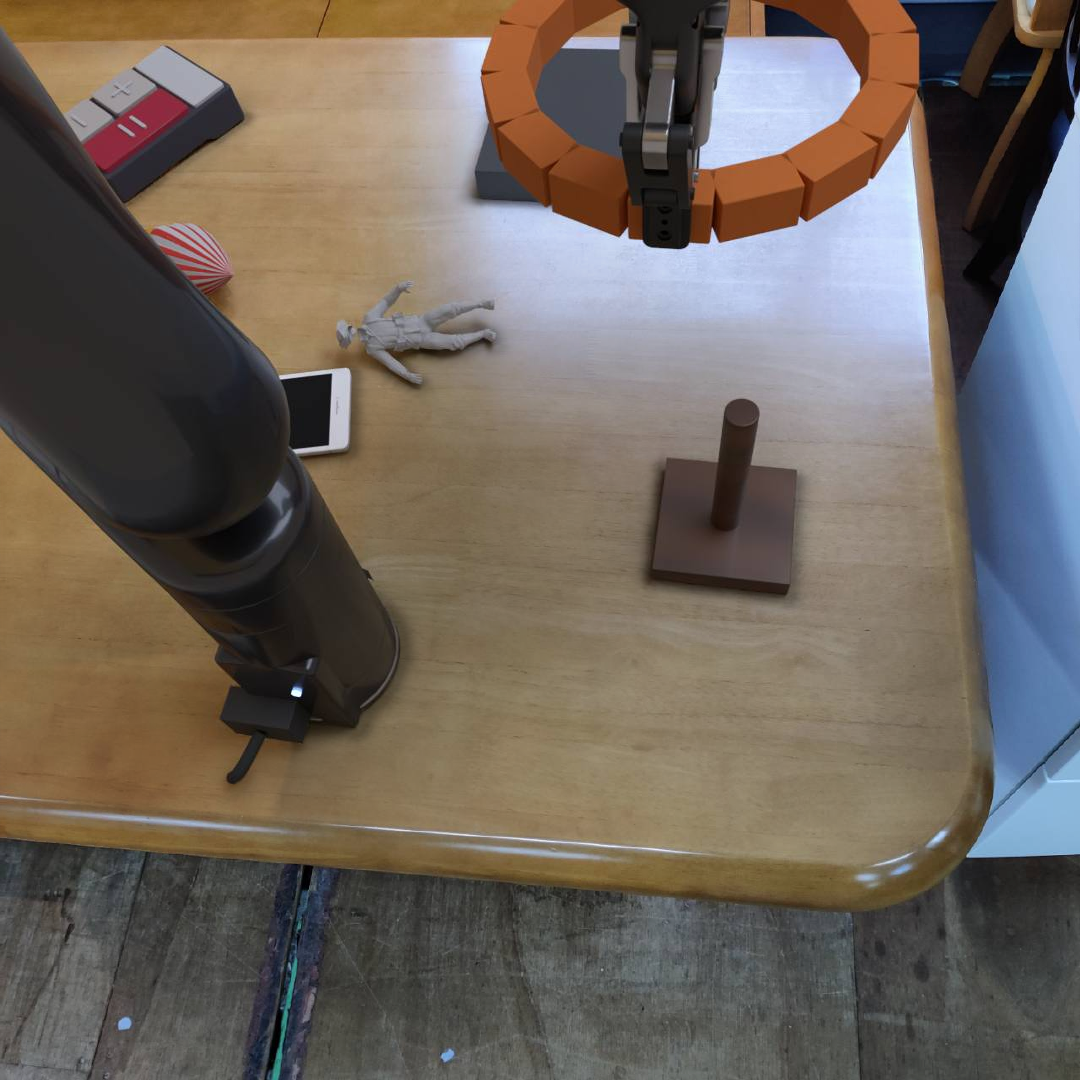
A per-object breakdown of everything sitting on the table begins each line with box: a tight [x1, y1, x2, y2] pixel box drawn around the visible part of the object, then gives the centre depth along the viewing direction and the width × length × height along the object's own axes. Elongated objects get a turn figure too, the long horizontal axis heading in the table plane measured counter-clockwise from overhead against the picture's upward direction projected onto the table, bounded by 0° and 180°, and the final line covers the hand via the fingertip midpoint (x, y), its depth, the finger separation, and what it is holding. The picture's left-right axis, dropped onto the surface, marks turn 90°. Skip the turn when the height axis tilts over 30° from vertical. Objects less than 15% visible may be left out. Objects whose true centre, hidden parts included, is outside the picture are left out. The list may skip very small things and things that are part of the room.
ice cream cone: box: [145, 222, 235, 296], centre depth 81 cm, size 6×6×20 cm
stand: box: [474, 47, 626, 202], centre depth 85 cm, size 17×17×3 cm
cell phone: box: [279, 367, 353, 458], centre depth 74 cm, size 8×16×1 cm, turn 94°
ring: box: [479, 0, 920, 245], centre depth 49 cm, size 22×22×2 cm
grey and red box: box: [62, 45, 245, 204], centre depth 91 cm, size 11×4×15 cm
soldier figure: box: [335, 280, 497, 385], centre depth 75 cm, size 8×5×12 cm
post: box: [651, 397, 798, 595], centre depth 60 cm, size 9×9×14 cm
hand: (670, 219), depth 46 cm, fingers closed on ring, 2 cm apart
